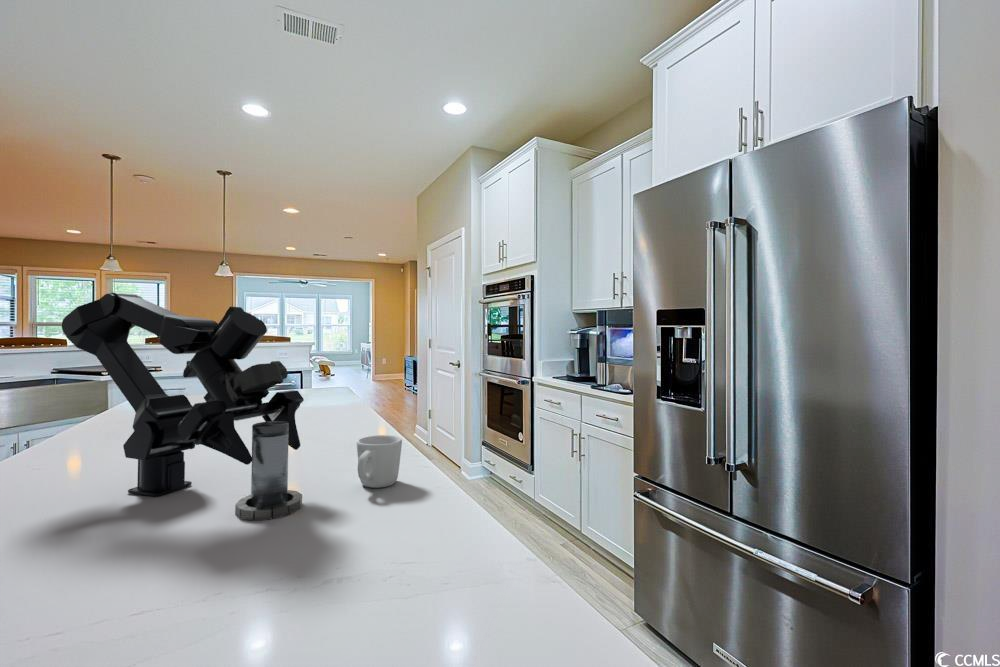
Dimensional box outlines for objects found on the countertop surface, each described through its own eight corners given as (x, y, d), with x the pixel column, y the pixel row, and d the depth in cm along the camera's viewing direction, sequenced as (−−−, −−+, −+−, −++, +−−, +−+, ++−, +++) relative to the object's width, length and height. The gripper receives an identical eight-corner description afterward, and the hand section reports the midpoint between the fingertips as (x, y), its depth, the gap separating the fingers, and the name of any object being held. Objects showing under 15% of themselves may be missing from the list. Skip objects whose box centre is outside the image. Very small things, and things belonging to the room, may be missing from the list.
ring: (221, 516, 66) (221, 506, 66) (267, 496, 75) (267, 487, 75) (272, 523, 64) (273, 513, 64) (313, 501, 73) (313, 492, 73)
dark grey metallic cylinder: (247, 516, 67) (248, 428, 67) (254, 504, 71) (256, 421, 71) (284, 513, 68) (285, 426, 68) (289, 501, 73) (290, 420, 73)
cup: (382, 498, 75) (383, 450, 75) (338, 494, 76) (339, 447, 76) (408, 478, 85) (409, 436, 85) (369, 475, 87) (370, 433, 87)
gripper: (193, 345, 63) (253, 432, 59) (296, 344, 80) (346, 411, 76) (153, 399, 65) (207, 486, 61) (261, 386, 83) (308, 453, 79)
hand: (275, 454), depth 69 cm, fingers open, 9 cm apart
